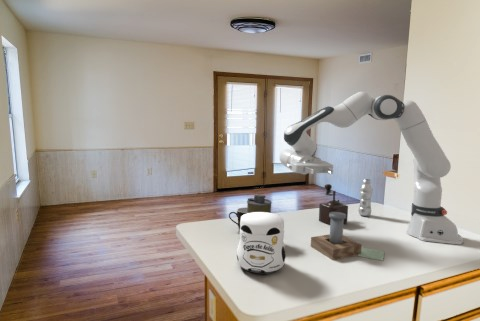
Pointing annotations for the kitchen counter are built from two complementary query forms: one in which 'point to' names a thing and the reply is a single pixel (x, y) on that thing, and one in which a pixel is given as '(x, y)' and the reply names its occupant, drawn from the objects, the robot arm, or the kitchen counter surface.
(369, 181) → the plastic bottle
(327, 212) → the brown coffee grinder
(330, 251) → the socket block
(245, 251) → the dulce de leche jar
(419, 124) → the robot arm
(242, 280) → the kitchen counter surface
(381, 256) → the mat
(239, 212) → the coffee mug
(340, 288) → the kitchen counter surface
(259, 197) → the canister
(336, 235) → the grey capped peg
